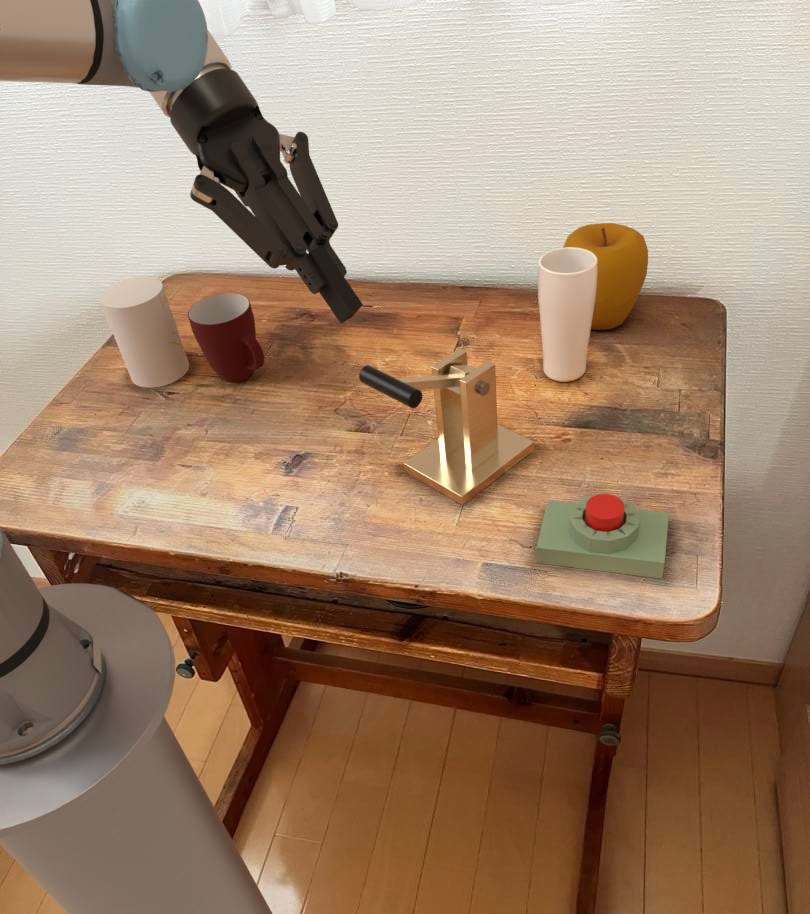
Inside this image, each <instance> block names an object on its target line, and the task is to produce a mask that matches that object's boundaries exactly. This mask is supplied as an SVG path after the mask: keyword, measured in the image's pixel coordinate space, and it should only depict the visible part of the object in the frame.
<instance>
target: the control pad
mask: <svg viewBox="0 0 810 914" xmlns="http://www.w3.org/2000/svg"><path fill="white" fill-rule="evenodd" d="M598 494H599V493H595V494H593V495H589V496H585V497H582V498H580V500H578V501H577V502H571V501H564V500H563V501H562V500H561V501H560V500H554V499H553V500H551V499H547V502H546V506H545V510H544V513H543V518H542V522H541V525H540V530H539V535H538V539H537V544H536V547H535V548H536V549H535V550H536V551H535V552H536V555H535V561H536V562H535V563H536V564H541V565H543V564H544V565H550V566H556V567H557V566H559V567H565V568H574V569H583V570H590V571H597V572H605V573H614V574H622V575H630V576H638V577H645V578H646V577H647V578H652V579H653V578H654V579H663V576H664V569H665V565H666V564H665V563H666V555H667V554H666V553H667V542H668V530H669V518H670V512H668V511H667V512H666V511H658V510H657V511H656V510H647V509H638V508H636V507H635V505H634V504H633V503H632V502H631V501H629V500H628V499H625V498H623V497H621V496H620V495H616V494H613V495H614V496H617V497H618V498H620V499H621V500H622V501H623V503H624V505H625V510H624V519H623V524H622V525H621V527H620V528H618V529H617V530H614V531H610V532H604V531H596V530H594V529H592V528H590V527H589V526H588V525H587V523H586V520H585V514H586V503H587V501H588V500H589V499H590V498H591V497H593V496H595V495H598Z"/></svg>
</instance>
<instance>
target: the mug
mask: <svg viewBox="0 0 810 914" xmlns="http://www.w3.org/2000/svg"><path fill="white" fill-rule="evenodd" d="M187 317H188V321H189V325H190V328H191V332H192V334H193V336H194V338H195V340H196V343H197V345H198V346H199V348H200V349H201V353H203V355H204V357H205V359H206V361H207V363H208V364H209V367H210V368H211V369H212V370H213V371H214V372H215V373H216V374H218V376H219V377H220V378H221V379H223V380H224V381H225V382H226V383H230V384H231V383H232V384H235V383H242V382H244V381H245V380H248V379H249V378H251V376H252V375H253V372H254V371H256V370H259V369H261V368H262V367H263V366H264V364H265V360H266V359H265V354H264V351H263V348H262V346H261V344H260V343H259V340H257V332H256V331H257V330H256V320H255V316H254V311H253V308H252V305H251V301H250V300H249V298H248V297H247V296H246V295H243V294H241V293H236V292H221V293H217V294H216V293H215V294H212V295H208V296H206V297H204V298H202V299H200V300H198V301H196V302H195V303H193V305H191V307H189V309H188V312H187Z"/></svg>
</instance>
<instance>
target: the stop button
mask: <svg viewBox="0 0 810 914" xmlns="http://www.w3.org/2000/svg"><path fill="white" fill-rule="evenodd" d="M597 494H598V495H596V494H594V495H595V496H593V497H591V498H590V499H589V500H588V501H587V503H586V514H585V520H586V523H587V525H588V526H589V527H590V528H592V529H594V530H596V531H604V532H610V531H614V530H617V529H618V528H620V527H621V525H622V524H623V519H624V510H625V505H624V503H623V501H622V500H621V499H620V498H618V497H617V496H618V495H617V496H614V495H615V494H610V493H597Z"/></svg>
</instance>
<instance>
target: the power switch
mask: <svg viewBox="0 0 810 914" xmlns="http://www.w3.org/2000/svg"><path fill="white" fill-rule="evenodd" d="M457 365H469V363H468V351H467V350H465V349H463V348H458V349H457V350H455V351H453V352H452V353H450V354H449V355H447V356H445V357H444V358H443V359H441V360H439V361H438V362H436V363H435V364H433V365H431V366H430V367H431V376H437V375H449V371H450V366H457ZM475 368H476V369H475V370H474V371H472V372H471V373H469V374H468V375H466V376H465V377H463V378H462V379H460V393H461V395H460V394H457V393H455V392H453V391H451V390H449V389H447V388H440V389H433V396H434V397H433V399H434V408H435V419H436V428H437V439H436V440H435V441H433V442H431V443H430V444H429V445H427V446H426V447H424V448H423V449H422V450H421V451H419V452H418V453H416V454H415V455H414V456H412V457H410V458H409V459H407V460H406V461H405V462H403V467H404V472H405V473H406V474H407V475H410V476H412V477H413V478H414V479H416V480H418V481H420V482H422V483H423V484H425V485H427V486H429V487H430V488H432V489H434V490H436V491H437V492H438V493H440V494H441V495H442V494H443V495H444V496H446V497H447V498H448V499H451V500H453V501H454V502H456V503H458V504H460V505H461V506H464V505H465V504H466V503H468V502H469V501H470V500H472V499H473V498H475V496H477V495H478V494H479V493H481V492H482V491H483V490H484V489H486V488H487V487H488V486H490V485H491V484H493V482H495V481H496V480H497V479H499V478H500V477H501V476H503V475H504V474H505V473H506V472H508V471H510V470H511V469H512V468H513V467H515V466H516V465H517V464H518V463H520V462H521V461H523V460H524V459H525V458H526V457H527V456H529V455H530V454H531V453H533V452H534V451H535V441H534V440H532V439H530V438H528V437H527V436H523V435H521V434H519V433H517V432H515V431H513V430H511V429H510V428H508V427H505V426H503V425H501V424H499V423H498V403H497V401H498V400H497V375H496V374H497V373H496V363H495V362H492V361H490V360H486V361H485V362H484V363H482V364H480V365H479V366H478V367H475Z"/></svg>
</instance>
